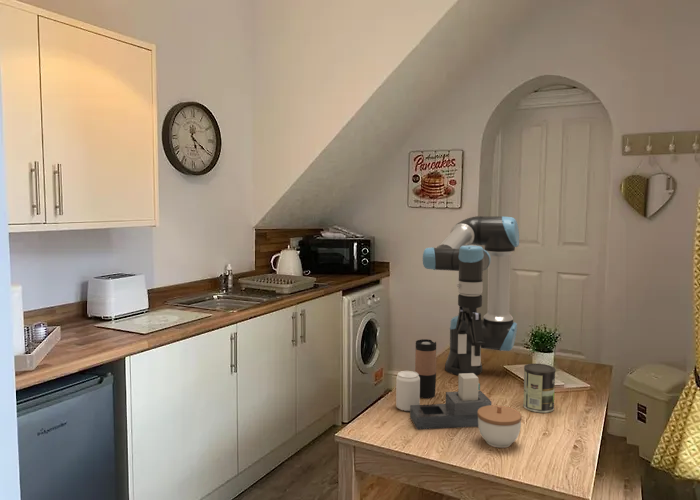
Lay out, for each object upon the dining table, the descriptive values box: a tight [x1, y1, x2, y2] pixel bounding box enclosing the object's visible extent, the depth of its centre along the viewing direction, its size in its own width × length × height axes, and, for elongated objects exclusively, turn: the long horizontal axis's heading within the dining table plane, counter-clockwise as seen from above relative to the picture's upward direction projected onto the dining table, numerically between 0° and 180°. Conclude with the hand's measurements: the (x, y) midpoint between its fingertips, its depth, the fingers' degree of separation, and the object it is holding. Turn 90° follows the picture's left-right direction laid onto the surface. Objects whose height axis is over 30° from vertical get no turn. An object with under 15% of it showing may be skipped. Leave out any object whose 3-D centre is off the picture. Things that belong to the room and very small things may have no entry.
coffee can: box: [522, 363, 556, 414], centre depth 191 cm, size 10×10×14 cm
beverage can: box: [395, 370, 421, 412], centre depth 191 cm, size 8×8×12 cm
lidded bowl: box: [477, 404, 523, 449], centre depth 164 cm, size 13×13×11 cm
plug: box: [457, 373, 481, 401], centre depth 180 cm, size 5×6×11 cm
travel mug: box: [414, 338, 437, 399], centre depth 202 cm, size 8×8×20 cm
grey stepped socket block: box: [409, 390, 492, 431], centre depth 179 cm, size 10×24×8 cm, turn 97°
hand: (468, 359), depth 178 cm, fingers open, 13 cm apart
